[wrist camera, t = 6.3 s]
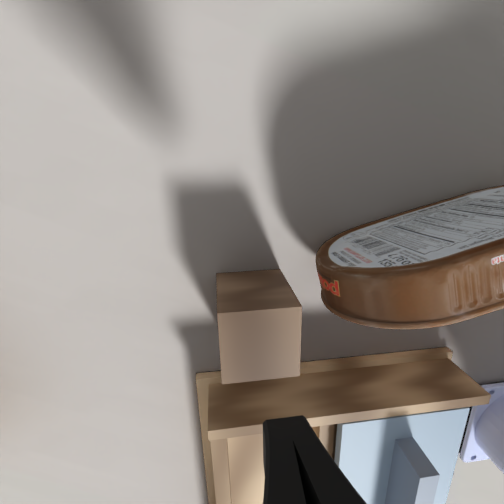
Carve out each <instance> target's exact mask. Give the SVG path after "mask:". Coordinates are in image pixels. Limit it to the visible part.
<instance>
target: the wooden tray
mask: <svg viewBox="0 0 504 504" xmlns="http://www.w3.org/2000/svg"><path fill="white" fill-rule="evenodd" d="M452 354H453V352H452V351H451V350H450V349H449V348H448V347H441V348H432V349H422V350H413V351H404V352H394V353H385V354H375V355H366V356H356V357H347V358H337V359H328V360H318V361H309V362H300V376H296V377H286V378H277V379H268V380H259V381H249V382H240V383H231V384H222V379H221V371H214V372H205V373H196V386H197V396H198V405H199V415H200V425H201V435H202V444H203V454H204V464H205V474H206V483H207V493H208V503H209V504H263V497H264V483H265V473H264V465H263V422H264V421H265V420H269V419H277V418H284V417H292V416H300V415H303V416H304V417H306V419H307V421H308V422H309V424H310V426H311V427H312V429H313V430H314V432H315V433H316V435H317V437H318V438H319V440H320V441H321V443H322V444H323V446H324V447H325V449H326V450H327V451H328V453H329V454H330V456H331V457H332V459H333V460H335V447H336V435H337V424H340V423H348V422H355V421H363V420H371V419H378V418H386V417H394V416H401V415H409V414H416V413H424V412H432V411H439V410H447V409H455V408H462V407H470V406H478V405H485V404H489V401H490V398H491V394H489V393H488V392H487V391H486V390H485V389H484V388H482V387H481V386H480V385H479V384H478V383H477V382H475V381H474V380H473V379H472V378H471V377H470V376H468V375H467V374H466V373H465V372H464V371H463V370H461V369H460V368H459V367H458V366H457V365H456V364H454V363H453V362H452V361H451V359H452Z"/></svg>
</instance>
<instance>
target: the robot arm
mask: <svg viewBox="0 0 504 504" xmlns="http://www.w3.org/2000/svg"><path fill="white" fill-rule="evenodd" d="M481 387H482V388H484V389H485V390H486V391H487V392H488V393H489V394H491V398H490V401H489V404H485V405H478V406H472V410H471V414H470V418H469V421H468V425H467V429H466V433H465V437H464V441H463V445H462V449H461V453H460V458H461V459H462V460H463V462H472V461H479V460H485V459H491V461H492V462H493V463H494V464H495V465H496V466H497V467H498V468H499V469H500V470H501V471H502V473H503V474H504V382H503V383H495V384H487V385H481ZM263 465H264V473H265V483H264V497H263V504H367V503H366V502H365V501H364V500H363V498H362V497H361V496H360V495H359V493H358V492H357V491H356V489H355V488H354V487H353V486H352V484H351V483H350V482H349V480H348V479H347V478H346V476H345V475H344V474H343V472H342V471H341V470H340V468H339V467H338V466H337V464H336V463H335V461H334V460H333V459H332V457H331V456H330V454H329V453H328V451H327V450H326V449H325V447H324V446H323V444H322V443H321V441H320V440H319V438H318V437H317V435H316V433H315V432H314V430H313V429H312V427H311V426H310V424H309V422H308V421H307V419H306V417H304V416H303V415H300V416H292V417H284V418H277V419H269V420H265V421H264V422H263Z"/></svg>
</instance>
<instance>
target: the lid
mask: <svg viewBox="0 0 504 504" xmlns="http://www.w3.org/2000/svg"><path fill="white" fill-rule="evenodd" d="M469 410H470V408H469V407H462V408H455V409H447V410H439V411H432V412H424V413H416V414H409V415H401V416H394V417H386V418H378V419H371V420H363V421H355V422H348V423H340V424H337V435H336V447H335V460H334V461H335V463H336V464H337V466H338V467H339V468H340V470H341V471H342V472H343V474H344V475H345V476H346V478H347V479H348V480H349V482H350V483H351V484H352V486H353V487H354V488H355V489H356V491H357V492H358V493H359V495H360V496H361V497H362V498H363V500H364V501H365V502H366V503H367V504H446V500H447V496H448V492H449V488H450V484H451V480H452V477H453V473H454V469H455V465H456V461H457V457H458V453H459V449H460V445H461V441H462V437H463V433H464V429H465V425H466V422H467V418H468V414H469Z"/></svg>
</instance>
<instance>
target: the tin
mask: <svg viewBox="0 0 504 504" xmlns="http://www.w3.org/2000/svg"><path fill="white" fill-rule="evenodd" d="M316 267H317V272H318V276H319V280H320V284H321V288H322V290H321V298H322V301H323V303H324V304H325V306H326V307H327V308H328V309H329V310H330V311H331V312H332V313H334V314H335V315H337V316H339V317H341V318H342V319H345V320H347V321H350V322H354V323H356V324H360V325H364V326H369V327H374V328H385V329H422V328H432V327H440V326H445V325H450V324H454V323H458V322H462V321H465V320H469V319H472V318H475V317H478V316H481V315H484V314H487V313H491V312H494V311H497V310H500V309H503V308H504V185H502V186H497V187H491V188H487V189H482V190H478V191H474V192H470V193H467V194H463V195H460V196H457V197H453V198H450V199H446V200H443V201H439V202H436V203H433V204H429V205H426V206H422V207H419V208H416V209H412V210H409V211H406V212H403V213H399V214H396V215H393V216H390V217H386V218H383V219H380V220H377V221H374V222H370V223H367V224H364V225H361V226H358V227H355V228H352V229H350V230H347V231H345V232H342V233H340V234H338V235H336V236H334V237H333V238H331V239H329V240H328V241H326V242H325V243H324V244H323V245H322V246H321V247H320V248H319V250H318V252H317V254H316Z"/></svg>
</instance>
